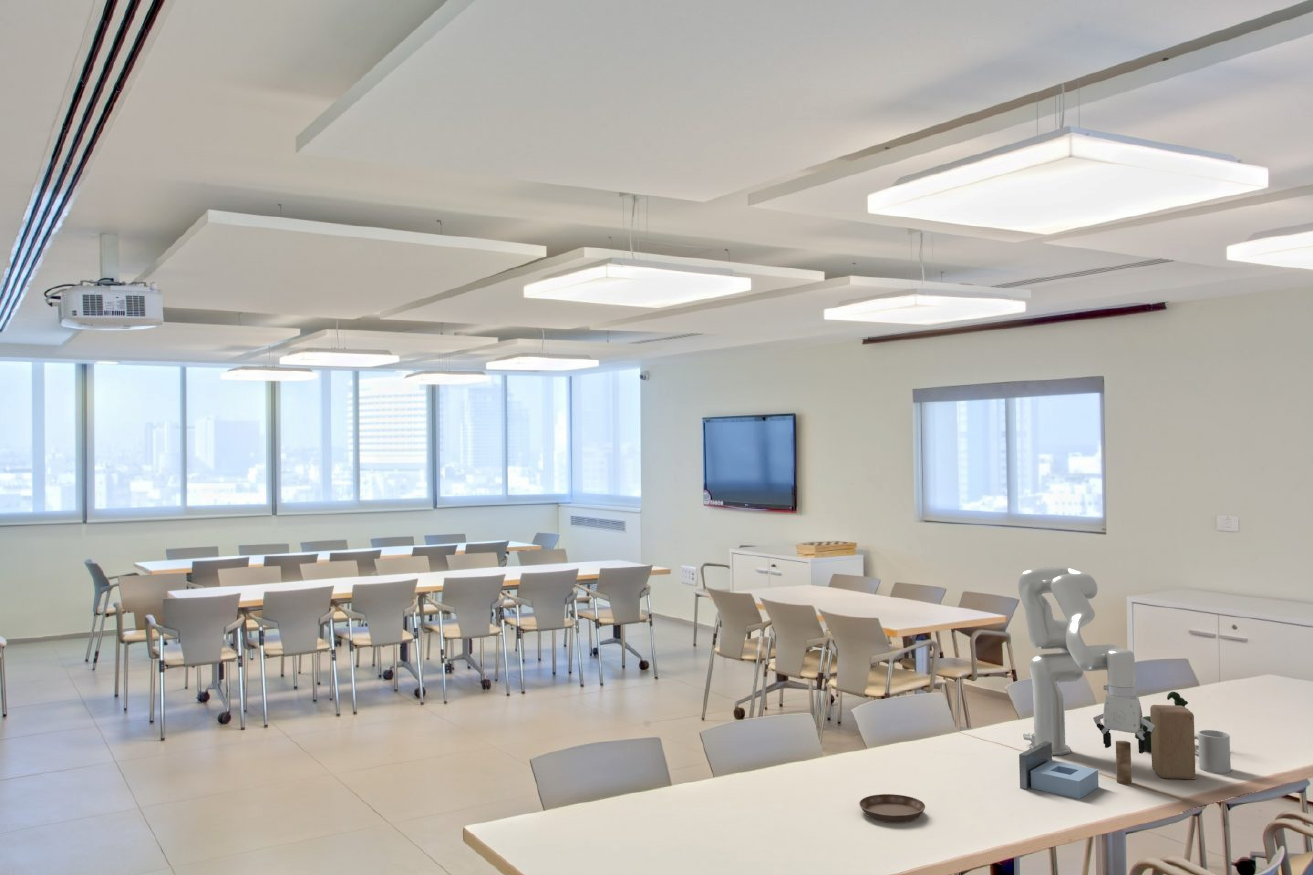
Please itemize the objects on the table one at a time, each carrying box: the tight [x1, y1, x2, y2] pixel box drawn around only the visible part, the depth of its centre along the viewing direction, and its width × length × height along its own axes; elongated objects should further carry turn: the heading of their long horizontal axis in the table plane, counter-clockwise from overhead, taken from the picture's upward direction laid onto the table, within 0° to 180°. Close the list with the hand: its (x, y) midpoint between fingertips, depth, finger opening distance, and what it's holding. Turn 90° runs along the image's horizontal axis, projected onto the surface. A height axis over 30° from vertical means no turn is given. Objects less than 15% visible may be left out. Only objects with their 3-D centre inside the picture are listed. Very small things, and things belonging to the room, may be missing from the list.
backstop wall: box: [1018, 741, 1053, 790], centre depth 297 cm, size 2×18×10 cm, turn 135°
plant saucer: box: [858, 793, 926, 824], centre depth 272 cm, size 18×18×3 cm
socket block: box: [1030, 759, 1100, 800], centre depth 291 cm, size 14×14×5 cm
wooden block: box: [1149, 704, 1197, 780], centre depth 302 cm, size 10×10×20 cm
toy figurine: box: [1134, 691, 1189, 753], centre depth 329 cm, size 9×19×25 cm
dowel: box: [1115, 740, 1133, 786], centre depth 295 cm, size 4×4×12 cm
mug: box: [1194, 729, 1232, 775], centre depth 307 cm, size 12×8×11 cm
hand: (1124, 749), depth 294 cm, fingers open, 9 cm apart
